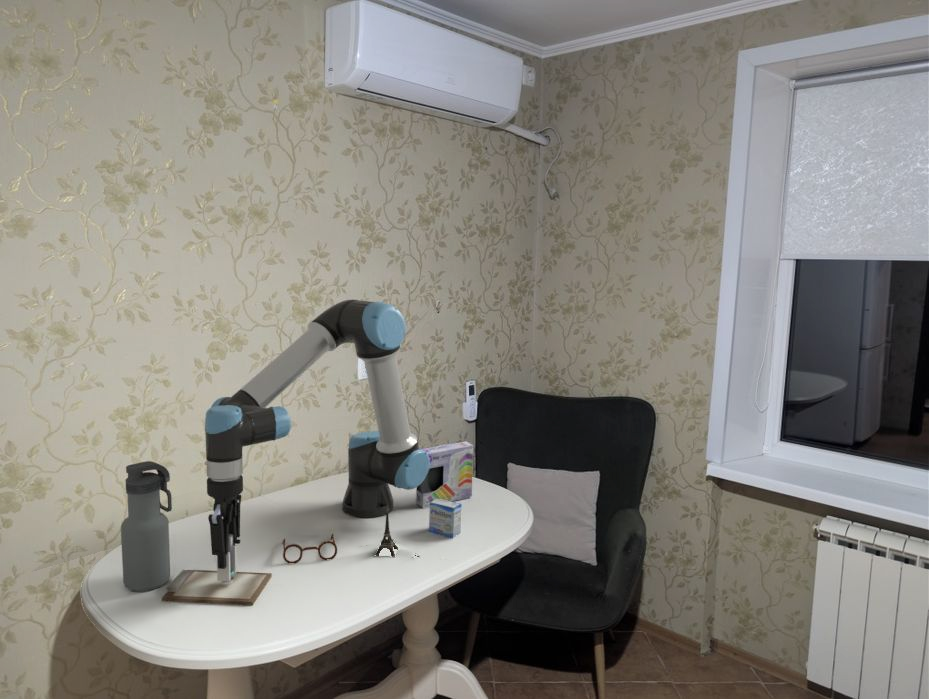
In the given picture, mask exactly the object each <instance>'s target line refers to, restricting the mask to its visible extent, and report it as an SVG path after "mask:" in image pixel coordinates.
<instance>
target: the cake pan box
mask: <svg viewBox="0 0 929 699" xmlns="http://www.w3.org/2000/svg"><path fill="white" fill-rule="evenodd" d="M419 449H420V450H424V451H425V452H426V453H427V454H428V456H429V460H430V466H429V470H428V473H427V475H426V477H425V479H424V480H423V482H422V483H421V484H420V485H419V486H418V487H416V488H415V490H416V491H415V492H416V497H415V501H416V505H417V506H419V507H420V508H422V509H427V508H430V503H431V502H432V501H433V500H435V499H437V498H438V499H442V500H447V501H451V502H456V501H459V500H463V499H464V500H465V499H467V498H470V497H471V498H472V497H473V473H474V472H473V470H474V469H473V468H474V466H473V464H474V462H473V461H474V444H472V443H471V442H469V441H465V440H464V441H462V442H456V443H455V442H454V443H448V444H441V445H440V444H439V445H436V446H433V447H432V446H431V447H427V448H419Z"/></svg>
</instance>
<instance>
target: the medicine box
mask: <svg viewBox="0 0 929 699" xmlns="http://www.w3.org/2000/svg"><path fill="white" fill-rule="evenodd" d="M462 507H463V506H462V503H459V502H456V501H452V502H451V501H447V500H442V499H438V498H437V499H435V500H433V501H432V502H431V503H430V507H429V514H428V515H429V516H428V518H429V519H428V532H429V533H432V534H434V535H435V534H436V535H439V534H440V536H443V535H444V537H447V536H448V537H447V538H451V537H452V539H454V538H455V537H457V536H458V535H460V533H461V531H462V530H461V529H462V528H461V527H462V526H461V525H462ZM456 535H457V536H456ZM453 537H454V538H453Z"/></svg>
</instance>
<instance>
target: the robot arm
mask: <svg viewBox="0 0 929 699" xmlns="http://www.w3.org/2000/svg"><path fill="white" fill-rule="evenodd" d="M406 329H407V328H406V321H405V318H404V316H403V314H402V312H400V310H399V309H398V308H397V307H395V306H394V305H392V304H390V303H385V302H382V301H367V300H366V301H365V300H358V299H347V300H343V301H340V302H337V303H336V304H333V305H332V306H330V307H329V308H327V309H326V310H324V311H323V312H321V313H320V314H318V315H317V316H316V317H315V318H314V319H313V320H312V321H311V322H310V323H308V325H307V330H306V331H305V332H304V333H303V334H301V335H300V336H299V337H298V338H297V339H296V340H295V341H293V342H292V343H291V344H290V345H289V346H288V347H287V348H286V349H284V350H283V351H282V352H281V353H280V354H278V355H277V356H276V357H275V358H274V359H273V360H271V361H270V362H269V363H268V365H266V366H265V367H264V368H263V369H261V371H259V372H257V374H256V375H255V376H254V377H252V378H251V379H250V380H249V381H248V382H247V383H245V384H244V385H242V387H241V388H240V389H239V390H238V391H236V392H235V393H234V394H233V395H232V396H231V397H230V396H224V397H220V398H217V399H216V400H215V401H214V402H213V403H212V405H211V407H210V408H208V410H206V412H205V419H204V434H205V435H204V436H205V456H206V460H205V461H204V465H205V466H206V477H207V479H206V493H207V495H208V496H209V497H210V498H212V499H214V503H213V514H212V513H211V514H209V515H208V517H207V518H208V523H209V530H210V531H209V532H210V545H211V555H212V556H216V571H217V581H230V580H231V574H230V552H228V540H229V534H232V535H233V552H234V573H236V572H238V571H237V570H238V569H237V567H238V566H237V545H240V543H241V539H239V538H240V537H241V502H242V495H241V494H242V493H243V491H244V477H243V474H244V468H243V467H244V466H243V465H244V462H243V461H244V460H243V459H244V458H243V457H244V456H243V447H248V446H253V445H257V444H261V443H262V444H263V443H266V442H270V441H273V442H274V441H276V440H279V439H283V438H285V437H287V435H289V434H290V432H291V427H292V420H291V416H290V414H289V411H288V410H287V409H286V408H285V407H283V406H280V405H279V406H269V405H270V404H271V403H272V402H273V401H275V399H277V397H278V396H280V395H281V394H282V393H283V392H284V391H285V390H286V389H287V388H289V387H290V386H291V385H292V384H293V383H294V382H295V381H296V380H297V379H299V377H300V376H301V375H303V374H304V373H305V372H306V371H307V370H308V369H309V368H311V367H312V366H313V365H314V364H315V363H316V362H317V361H318V360H319V359H320V358H321V357H322V356H323V355H325V354H326V353H327V352H333V351H335V350H336V349H337V348H338V347H339V346H341V345H343V344H347V343H349V344H354V347H355V352H356V356H357V358H358V359H360V360H361V361H362V362H364V366H365V372H366V377H367V381H368V385H369V391H370V396H371V401H372V407H373V410H374V415H375V421H376V427H377V430H372V431H371V430H370V431H363V432H359V433H355V434H352V435H351V436H350V438H349V439H348V448H347V450H348V453H347V454H348V456H347V457H348V464H347V465H348V469H347V470H348V484H347V486H346V490H345V493H344V496H343V500H342V511H343V512H344V513H345V514H346V515H348V516H351V517H357V518H376V517H381V516H384V515H385V516H386V509H387V505H388V509H389V511H388V514H389V513H391V512H392V511H393V509H394V501H395V500H394V497H393V494H392V492H391V491H392V490H391V488H390V485H391V486H394V487H396V488H398V489H403V490H409V491H411V490H414V489H417V487H418V486H419V485H420V484H421V483H422V482H423V480H424V479H425V477H426V475H427V473H428V470H429V466H430V460H429V456H428V454H427V453H426V452H425V451H424V450H420V449H421V448H420V446H419V441H418V438H417V435H416V434H414V433H412V432H411V428H410V424H409V418H408V412H407V407H406V406H407V405H406V402H405V397H404V391H403V387H402V386H403V385H402V380H401V376H400V369H399V364H398V358H397V354H398V353H399V352H400V350H401V344H402V342H403V341H404V340H405V337H404V335H406ZM268 406H269V407H268ZM236 544H237V545H236Z"/></svg>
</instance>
